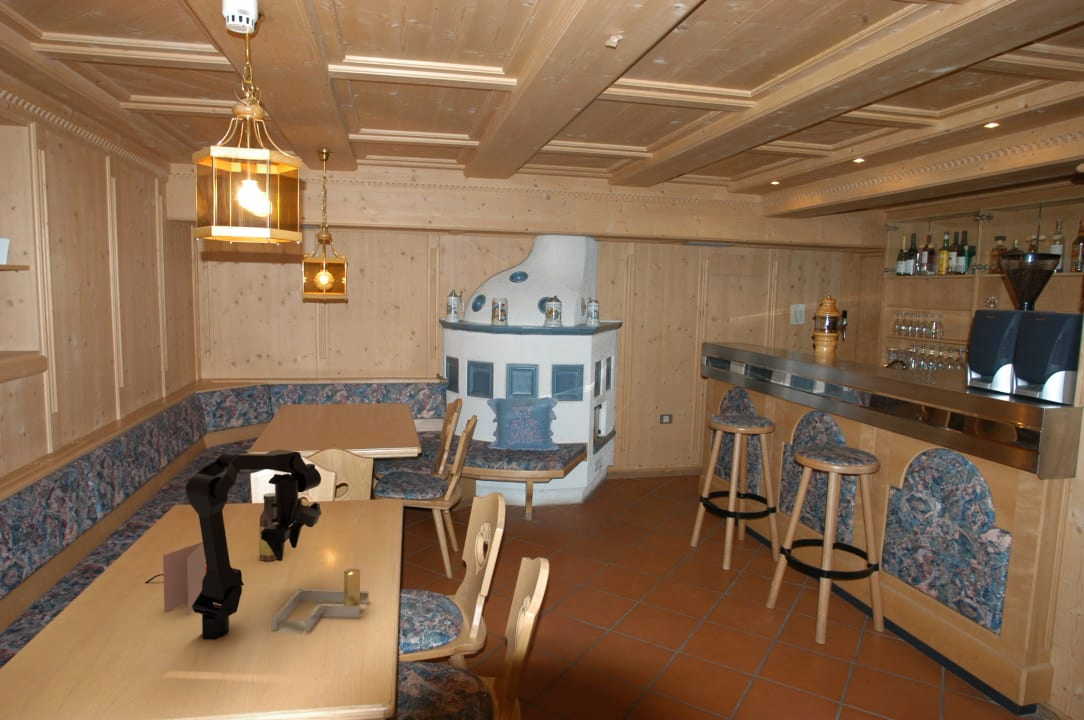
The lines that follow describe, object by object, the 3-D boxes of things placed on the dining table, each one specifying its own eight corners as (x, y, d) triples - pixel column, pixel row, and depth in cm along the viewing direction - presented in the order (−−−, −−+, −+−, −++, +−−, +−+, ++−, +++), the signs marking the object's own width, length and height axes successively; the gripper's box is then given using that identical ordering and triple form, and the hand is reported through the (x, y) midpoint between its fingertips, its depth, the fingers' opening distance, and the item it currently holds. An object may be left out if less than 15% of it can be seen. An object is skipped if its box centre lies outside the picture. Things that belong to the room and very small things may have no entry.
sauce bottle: (273, 562, 202) (272, 498, 200) (254, 560, 203) (254, 497, 201) (285, 554, 208) (285, 492, 206) (267, 552, 209) (267, 490, 208)
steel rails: (349, 633, 159) (349, 621, 158) (272, 630, 159) (271, 618, 159) (368, 602, 175) (368, 591, 175) (299, 599, 176) (298, 588, 175)
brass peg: (357, 613, 169) (357, 575, 168) (341, 612, 169) (341, 574, 168) (362, 606, 173) (362, 568, 172) (346, 605, 173) (346, 568, 172)
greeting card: (203, 594, 180) (202, 540, 178) (221, 601, 176) (220, 546, 175) (162, 611, 170) (160, 554, 168) (180, 618, 166) (179, 560, 165)
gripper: (303, 509, 167) (303, 569, 169) (329, 488, 186) (329, 542, 187) (259, 507, 167) (260, 567, 169) (289, 486, 186) (289, 541, 188)
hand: (287, 554), depth 178 cm, fingers open, 9 cm apart
